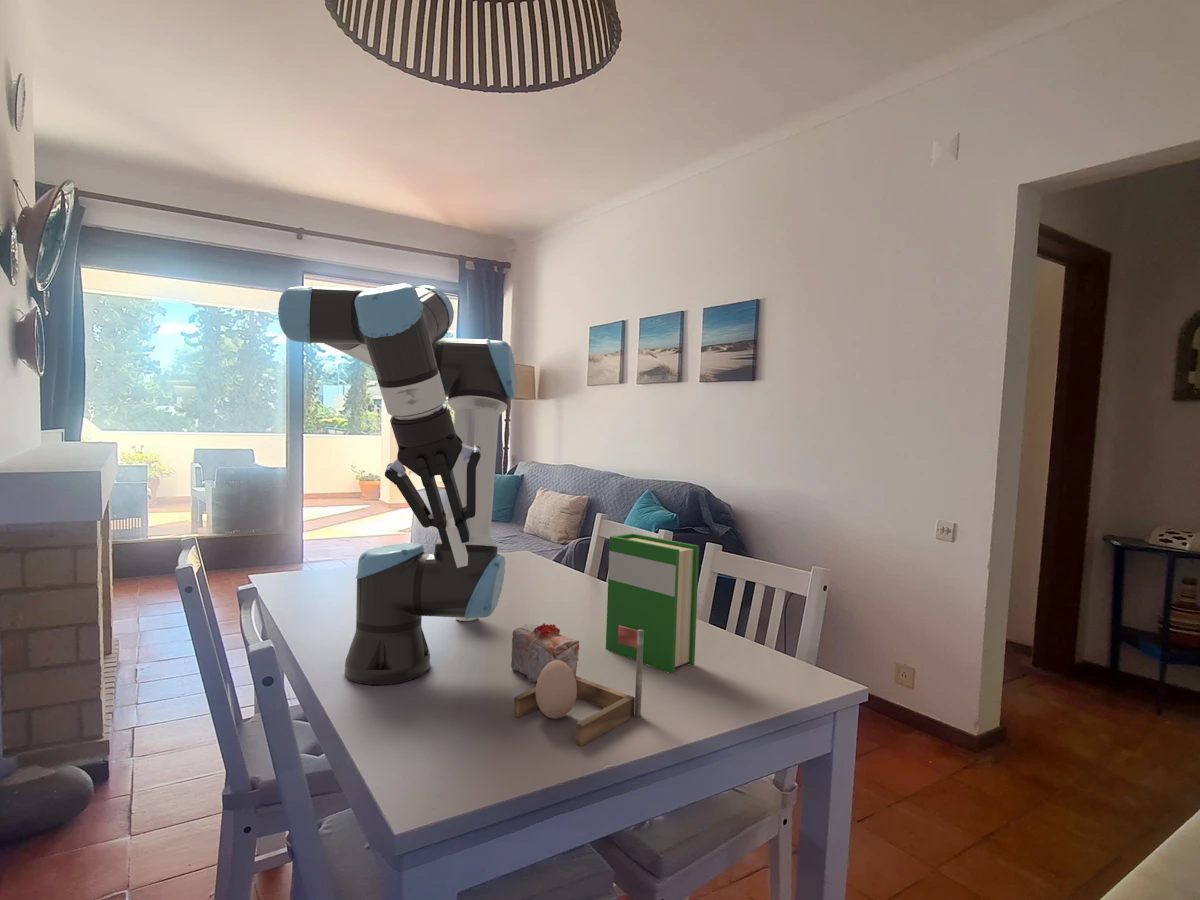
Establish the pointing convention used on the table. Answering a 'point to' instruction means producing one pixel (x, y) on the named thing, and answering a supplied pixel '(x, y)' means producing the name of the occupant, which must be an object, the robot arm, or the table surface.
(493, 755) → the table surface
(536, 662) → the food item
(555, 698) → the egg
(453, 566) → the robot arm
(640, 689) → the mini golf hole
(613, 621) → the hardback book
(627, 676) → the table surface
